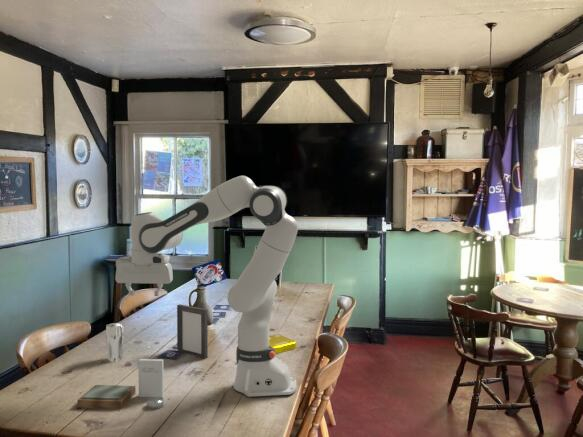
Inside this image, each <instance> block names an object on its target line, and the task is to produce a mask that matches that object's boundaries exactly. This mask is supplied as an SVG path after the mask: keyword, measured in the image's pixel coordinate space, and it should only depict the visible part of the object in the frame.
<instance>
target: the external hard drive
mask: <svg viewBox="0 0 583 437" xmlns="http://www.w3.org/2000/svg"><path fill="white" fill-rule="evenodd" d="M164 363H165V362H164V359H161V358H159V359H158V358H157V359H154V358H140V359H138V397H139V398H154V397H160V398H164V396H165V394H164V385H165V383H164V378H165V376H164V372H165V371H164Z"/></svg>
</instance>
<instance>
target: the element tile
mask: <svg viewBox="0 0 583 437" xmlns="http://www.w3.org/2000/svg"><path fill="white" fill-rule="evenodd" d="M269 346H271V347H272V348H273V346H274V349H275V355H276V354H281V353H284V352H288V351H292V350H295V349H297V341H296V340H295V339H291V338H288V337H286V336H285V335H281V334H273V335H269Z"/></svg>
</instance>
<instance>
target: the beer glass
mask: <svg viewBox="0 0 583 437" xmlns="http://www.w3.org/2000/svg"><path fill="white" fill-rule="evenodd" d="M105 326H106V327H105V342H106V348H107V352H108V354H107V355H108V356H107V362H109V363H118V362H120V361H123V359H124V356H123V347H124V342H125V328H124V323H121V322H115V323H114V322H113V323H109V324H106V325H105Z"/></svg>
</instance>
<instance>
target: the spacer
mask: <svg viewBox="0 0 583 437" xmlns="http://www.w3.org/2000/svg"><path fill="white" fill-rule="evenodd" d="M163 407H164V397H162V398H160V397H149V398H148V399H147V401H146V408H147V409H148V410H159V409H161V408H163Z"/></svg>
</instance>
